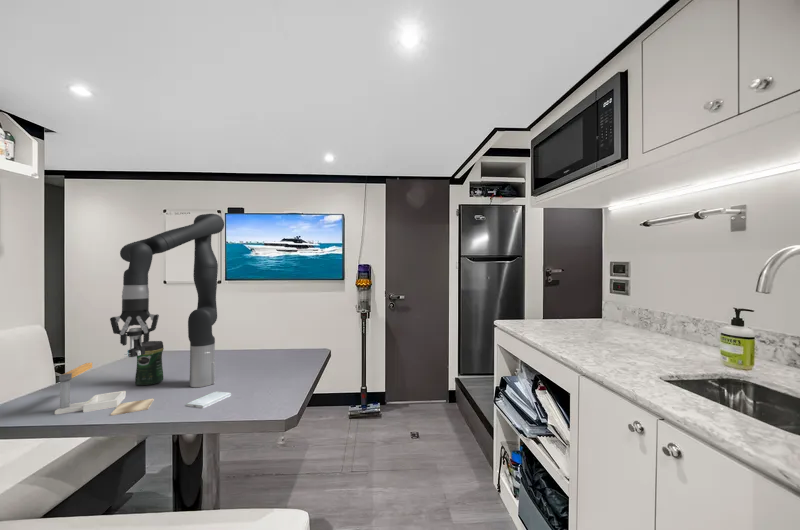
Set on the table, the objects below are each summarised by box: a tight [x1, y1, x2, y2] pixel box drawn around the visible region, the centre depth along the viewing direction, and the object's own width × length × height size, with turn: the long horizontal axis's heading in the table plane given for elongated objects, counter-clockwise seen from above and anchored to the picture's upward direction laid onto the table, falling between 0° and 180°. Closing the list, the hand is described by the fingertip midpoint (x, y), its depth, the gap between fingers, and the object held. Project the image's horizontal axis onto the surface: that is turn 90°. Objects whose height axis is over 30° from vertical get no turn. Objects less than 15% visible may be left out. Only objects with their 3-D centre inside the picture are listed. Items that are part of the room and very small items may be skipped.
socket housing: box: [54, 380, 127, 415], centre depth 116 cm, size 17×11×10 cm, turn 118°
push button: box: [124, 326, 145, 358], centre depth 115 cm, size 7×5×10 cm
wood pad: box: [110, 398, 155, 416], centre depth 114 cm, size 10×10×1 cm
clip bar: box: [58, 362, 93, 382], centre depth 120 cm, size 18×3×2 cm, turn 24°
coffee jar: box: [134, 340, 165, 386], centre depth 141 cm, size 10×8×19 cm
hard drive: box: [185, 390, 232, 409], centre depth 120 cm, size 2×8×12 cm
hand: (134, 343), depth 115 cm, fingers closed on push button, 5 cm apart
